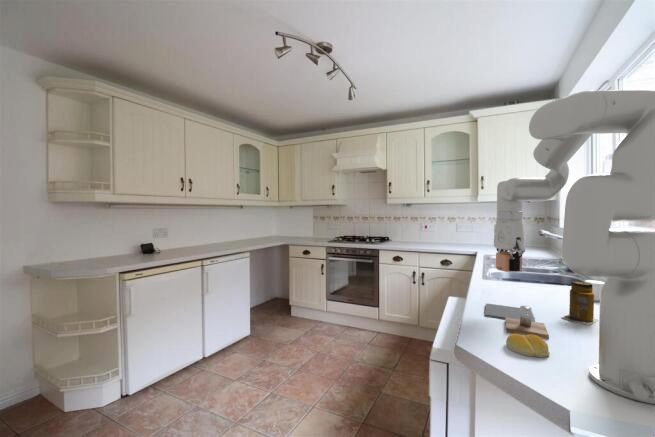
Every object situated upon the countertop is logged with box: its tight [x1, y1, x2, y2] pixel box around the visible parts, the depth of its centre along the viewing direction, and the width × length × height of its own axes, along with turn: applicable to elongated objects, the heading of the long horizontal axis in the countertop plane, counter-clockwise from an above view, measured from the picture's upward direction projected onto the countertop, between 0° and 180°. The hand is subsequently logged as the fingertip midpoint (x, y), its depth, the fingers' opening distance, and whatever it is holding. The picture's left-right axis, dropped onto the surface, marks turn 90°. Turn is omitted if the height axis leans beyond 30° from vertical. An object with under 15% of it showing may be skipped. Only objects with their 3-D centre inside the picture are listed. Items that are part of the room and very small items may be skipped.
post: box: [519, 305, 532, 327], centre depth 88 cm, size 3×3×6 cm
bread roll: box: [505, 333, 551, 358], centre depth 75 cm, size 8×9×4 cm
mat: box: [484, 303, 536, 322], centre depth 102 cm, size 14×14×1 cm
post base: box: [505, 318, 550, 340], centre depth 88 cm, size 10×10×1 cm
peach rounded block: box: [495, 251, 523, 273], centre depth 102 cm, size 7×6×6 cm
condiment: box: [561, 280, 599, 326], centre depth 97 cm, size 7×8×12 cm
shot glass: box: [584, 279, 606, 302], centre depth 120 cm, size 7×7×7 cm
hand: (508, 268), depth 102 cm, fingers closed on peach rounded block, 5 cm apart
